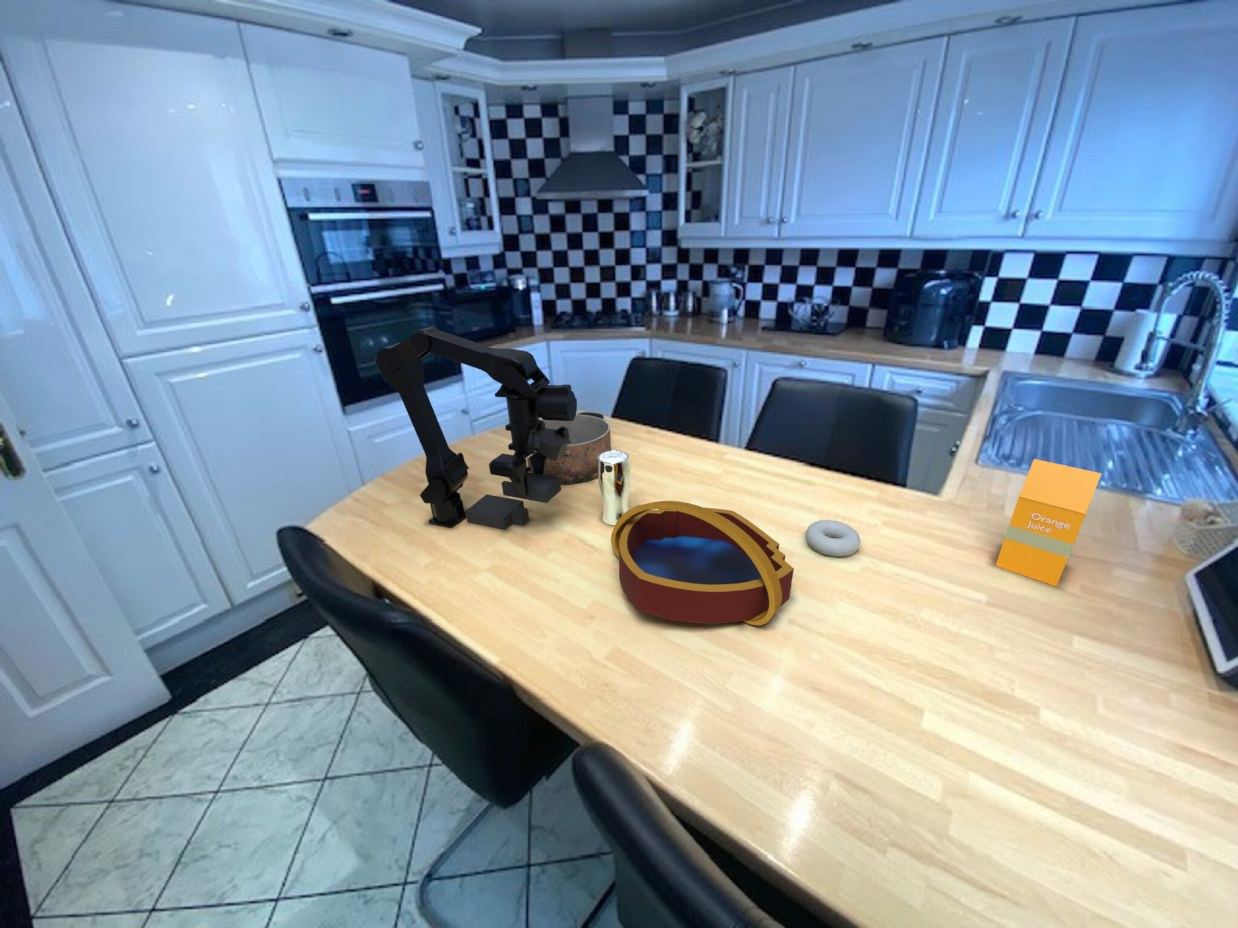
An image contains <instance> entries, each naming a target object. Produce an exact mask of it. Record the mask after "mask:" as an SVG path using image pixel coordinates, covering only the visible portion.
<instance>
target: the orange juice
mask: <svg viewBox="0 0 1238 928" xmlns="http://www.w3.org/2000/svg"><path fill="white" fill-rule="evenodd" d="M1028 470H1029V471H1028V473H1027V475H1026V477H1025V480H1024V483H1023V486H1022V488H1021V491H1020V493H1019V494H1018V497H1017V500H1016V504H1015V507H1014V510H1013V513H1012V516H1011V519H1010V522H1009V524H1008V527H1007V530H1006V532H1005V535H1004V539H1003V541H1002V545H1001V548H1000V551H999V555H998V557H997V560H996V562H995V567H998V568H1001V569H1004V570H1007V571H1009V572H1012V573H1016V574H1018V575H1021V576H1024V577H1026V578H1030V579H1033V580H1036V581H1039V582H1040V583H1041V582H1042V583H1045V584H1047V585H1050V586H1054V587H1057V586H1058V583H1059V582H1060V579H1061V576H1062V574H1063V572H1064V569H1065V566H1066V565H1067V562H1068V560H1069V558H1070V556H1071V553H1072V550H1073V548H1074V546H1075V543H1076V540H1077V537H1078V535H1079V534H1080V531H1081V528H1082V525H1083V523H1084V521H1085V518H1086V516H1087V513H1088V510H1089V508H1090V505H1091V501H1092V499H1093V496H1094V495H1095V492H1096V489H1097V487H1098V484H1099V482H1100V479H1101V476H1102V473H1101V472H1098V471H1097V472H1096V471H1093V470H1087V469H1083V468H1078V467H1074V466H1069V465H1065V464H1060V463H1056V462H1051V461H1047V460H1042V459H1037V458H1034V459H1033V460H1032V463H1031V465H1030V468H1029V469H1028Z"/></svg>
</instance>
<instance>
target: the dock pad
mask: <svg viewBox="0 0 1238 928" xmlns="http://www.w3.org/2000/svg"><path fill="white" fill-rule="evenodd" d="M464 511H465V513H466V517H465V518H466V522H467V523H469V524H474V525H478V526H482V527H483V526H484V527H489V528H493V529H497V530H503V531H506V530H507V529H508V528H509V527H511V526H512V525H517V526H521V527H523V526H525V525H526V524H527V523H528V522H529V521H530V514H529V508H527V507H525V501H524V500H523V499H518V498H512V497H506V496H500V495H499V496H498V495H495V494H494V495H493V494H485V495H483V496H482V497H481V498H480V499H478V501H476V502H474V503H473V504H472V505H470V507H468V508H467V509H465V510H464Z"/></svg>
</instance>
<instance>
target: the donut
mask: <svg viewBox="0 0 1238 928" xmlns="http://www.w3.org/2000/svg"><path fill="white" fill-rule="evenodd" d="M805 540H806V542H807V544H808V546H810V547H811V548H812V549H814V550H815V551H816V552H818V553H820V554H822V555H826V556H829V557H847V556H850V555H853V554H854V553H856V552H857V551H858V550H859V548H860V545H861V537H860V534H859V533H858V532H857V530H856V529H855V528H853V527H852V526H851V525H849V524H847V523H844V522H842V521H838V520H832V519H823V520H822V519H820V520H817V521H815V522H813V523H811V524H809V525H808V527H807V528H806V530H805Z"/></svg>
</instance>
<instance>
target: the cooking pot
mask: <svg viewBox="0 0 1238 928" xmlns="http://www.w3.org/2000/svg"><path fill="white" fill-rule="evenodd" d="M542 420H543V419H542ZM543 422H544V423H545V427H546V428H548V429H556V430H557V429H558V428H560V427H561V426H564V427H566V428H568V431H569V437H570V439H569V440H570V441H571V442H570V444H568V445H567V447H566V451H565V454H564V455H562V456H561V457H560V458H559V459H558V460H556V461H553V460H550V459H549V458H548V461H547V465H546V470H545V475H548V476H554V477H560V482H561V485H576V484H581V483H587V482H589V481H593V480H596V479H598V455H599V454H601V453H603V452H605V451H611V450H612V443H611V442H612V440H611V426H610V424H609V422H608V421H607V420H605V419H604V415H603V414H602V413H598V412H591V411H583V412H579V413H578V414H576V416H575V418H574V420H573V421H555V420H543ZM526 460H527V467H530V468H532V465H531V462H530V459H529V458H527V459H526ZM529 472H530V473H534V471H533V468H532V469H531V470H530V471H529Z"/></svg>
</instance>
